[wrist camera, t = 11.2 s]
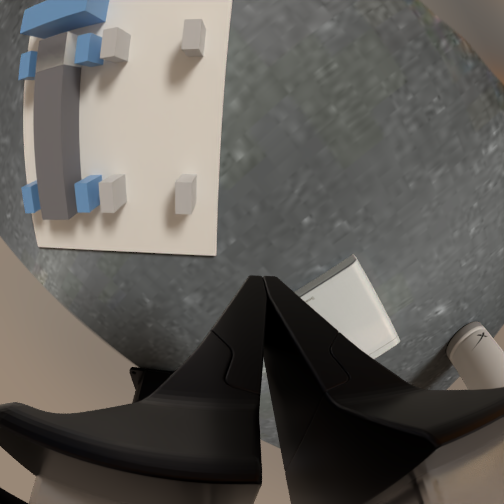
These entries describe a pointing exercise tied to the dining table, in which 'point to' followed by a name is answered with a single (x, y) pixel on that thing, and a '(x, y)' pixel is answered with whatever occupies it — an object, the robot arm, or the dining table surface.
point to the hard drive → (351, 307)
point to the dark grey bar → (57, 126)
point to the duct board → (137, 122)
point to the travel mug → (477, 357)
